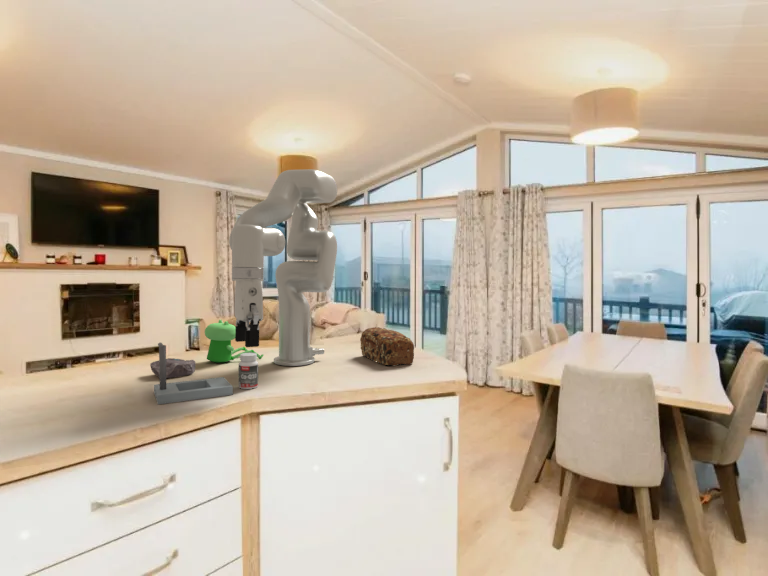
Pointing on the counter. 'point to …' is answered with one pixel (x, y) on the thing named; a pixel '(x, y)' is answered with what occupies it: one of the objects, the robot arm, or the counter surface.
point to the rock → (175, 367)
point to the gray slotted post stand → (187, 386)
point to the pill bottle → (248, 371)
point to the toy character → (223, 342)
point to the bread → (387, 346)
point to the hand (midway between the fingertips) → (246, 343)
